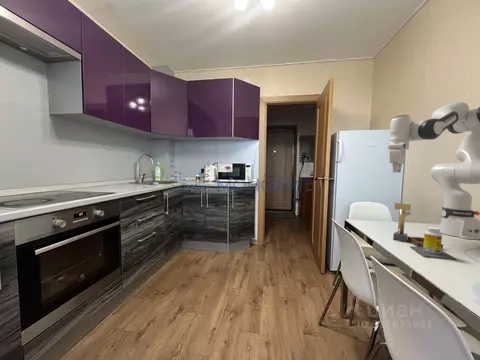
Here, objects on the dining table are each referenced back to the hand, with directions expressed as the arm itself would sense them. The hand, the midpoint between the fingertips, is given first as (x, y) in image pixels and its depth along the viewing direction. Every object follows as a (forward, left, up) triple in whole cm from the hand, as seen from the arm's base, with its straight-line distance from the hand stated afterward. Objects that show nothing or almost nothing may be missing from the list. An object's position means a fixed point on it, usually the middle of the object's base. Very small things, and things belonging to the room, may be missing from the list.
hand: (396, 172), depth 121 cm
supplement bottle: (-4, +28, -33) cm, 43 cm away
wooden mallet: (-2, +7, -30) cm, 31 cm away
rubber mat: (-4, +28, -33) cm, 43 cm away
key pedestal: (+1, +11, -33) cm, 35 cm away
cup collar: (-7, +16, -33) cm, 37 cm away
